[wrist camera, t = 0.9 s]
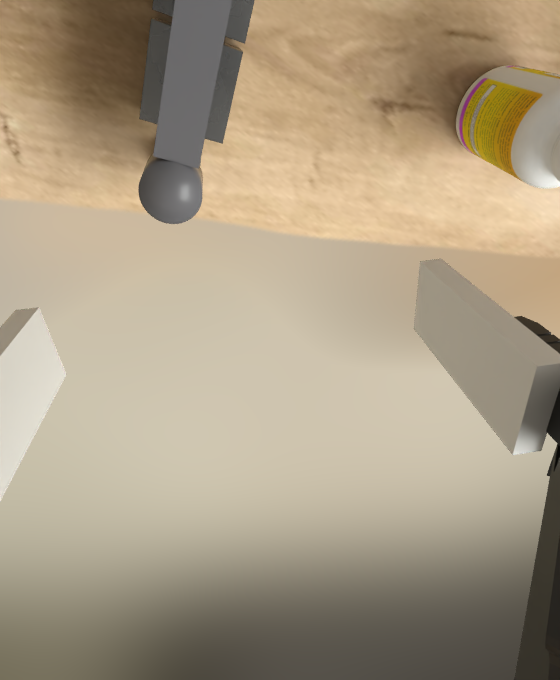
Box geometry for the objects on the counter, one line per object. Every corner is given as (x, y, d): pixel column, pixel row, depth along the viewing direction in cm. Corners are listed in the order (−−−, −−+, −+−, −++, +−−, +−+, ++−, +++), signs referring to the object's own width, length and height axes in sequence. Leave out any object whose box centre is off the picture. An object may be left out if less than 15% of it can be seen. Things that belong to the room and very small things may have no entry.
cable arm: (183, -124, 22) (180, -142, 19) (258, -89, 23) (265, -101, 21) (141, 196, 32) (135, 215, 29) (196, 210, 33) (195, 230, 30)
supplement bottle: (457, 165, 39) (544, 223, 29) (448, 85, 35) (547, 120, 24) (532, 134, 38) (650, 182, 28) (532, 48, 34) (670, 69, 24)
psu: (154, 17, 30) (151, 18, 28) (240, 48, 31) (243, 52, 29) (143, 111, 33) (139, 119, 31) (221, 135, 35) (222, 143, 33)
